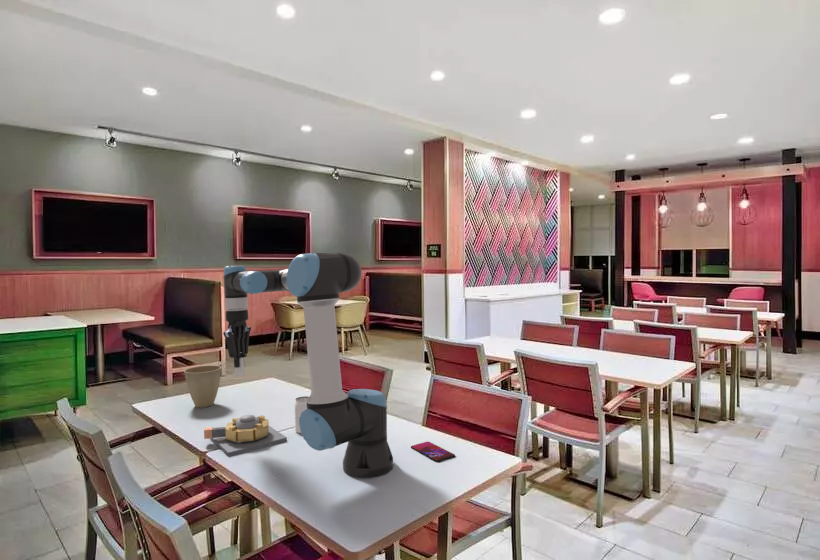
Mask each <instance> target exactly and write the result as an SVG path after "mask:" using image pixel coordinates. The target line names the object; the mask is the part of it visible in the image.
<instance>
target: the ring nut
mask: <svg viewBox="0 0 820 560" xmlns="http://www.w3.org/2000/svg"><path fill="white" fill-rule="evenodd" d="M257 417H258V418H259V423H258V424H255V428H253V429H243V430H239V429H237V426H236V420H237V419H240V417H233V418H232V420H231V422H228V423H227V424H226V425H225V426H220V427H219V426H217V427H212V426H210V427H205V428H204V430H203V439H204V440H207V439H210V438H217V437H226V439H227V440H230V441H234V442H237V441H238V442H245V441H254V440H257V439H260V438H262V437H265V436H267V435H268V433H269V426H270V421H269V419H267V418H266V417H265V416H264V415H259V416H257Z"/></svg>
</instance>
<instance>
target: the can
mask: <svg viewBox="0 0 820 560" xmlns="http://www.w3.org/2000/svg"><path fill="white" fill-rule="evenodd" d="M308 398H309V395H307V396H306V395H305V396H298V397H296V398H295V401H294V407H293V408H294V431H295V432H296V434H300V435H302V433H301V430H300V425H299V418H300V416H301V413H302V412H303V411H304V410H306V409H307V404H306V400H307V399H308Z"/></svg>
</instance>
